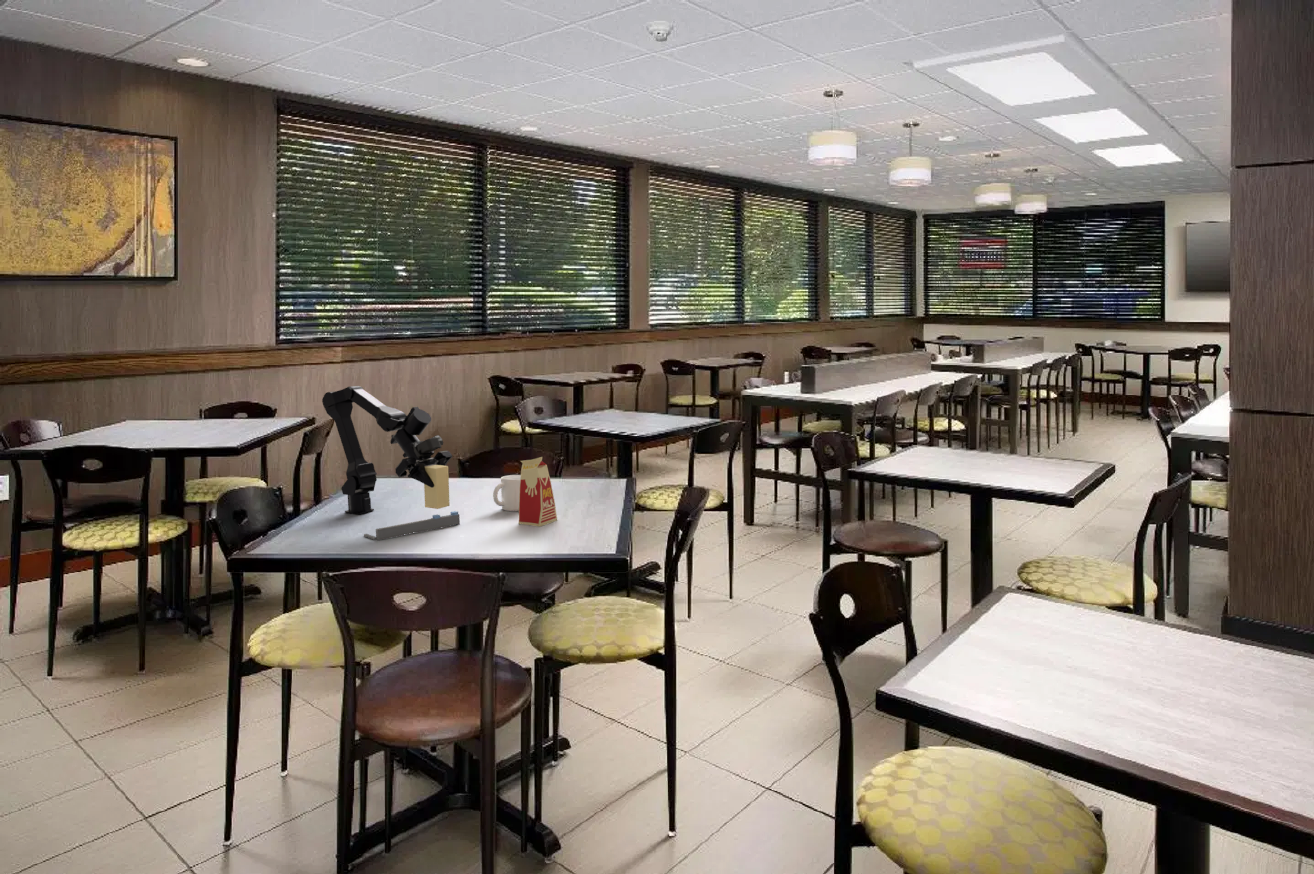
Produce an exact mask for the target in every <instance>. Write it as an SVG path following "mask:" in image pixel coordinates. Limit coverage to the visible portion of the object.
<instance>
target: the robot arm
mask: <svg viewBox="0 0 1314 874" xmlns="http://www.w3.org/2000/svg"><path fill="white" fill-rule="evenodd" d="M321 402H322V405H323V408H324V410H325V412H326V414H327V415H328V416H329V417H331V419H333V421H334V423H335V426H336V430H337V431H338V435H339V438H340V441H341V445H342V448H343V451H344V454H345V457H346V461H347V468H346V472H345V475H346V481H345V482H344V483H343V485H342V486H341V488H340V489H341V493H342V495H345V496H347V508H348V509H347V510H344V513H345V514H353V515H363V514H365V513H369V512H373V511H375V508H372V502H371V500H372V499H371V497H370V494H371V493H370V492H374V491H375V486H376V483H377V475H378V474H377V471H376V470H375V465H374V463H373V462H368V461H367V460H366V459H365V457H364V454H363V451H362V448H361V445H360V441H359V438H358V436H357V431H356V429H355V425H354V423H353V420H352V412H353V408H354V406H353V403H355V405H357V406H358V407H360V408H361V409H362V410H364V411H365V412H367V413H368V414H369V415H371V416H372V417H373V418H374V419H375V421H376V424H377V425H378V426H379V427H380V429H382V430H383V431H384V432H387V433H389V432H395V431H396V432H395V433H394V434H391V437H390V441H389V442H390V444H391V445H395V444H398V446H399V447H400V449H401V450H402V451H403V454H402V457H403V458H402V459H401V460H400V462H399V463H398V465H396V467H395V471H394V472H395V474H396V476H398V478H404V477H407V478H409V479H410V478H411V479H413V480H415V481H418V482H420V483H422V484H423V485H424V484H426V485H427V486H429V487H431V488H433V487H434V483H433V481H432V480H431V478H430V477H429V475H428V474H427V472H426V471H425V467H427V466H432V465H443V466H447V464H448V463H449V462H450V460H451V459H452V458H453V455H452V453H451V452H450V450H443V451H442V450H441V451H438V452H437V453H436V454H435V451H437V450H438V449H441V448H442V446H443V445H444V441H443V438H442V437H441V436H440V435H434V436H433V437H431V438H427V439H425V440H420V439H419V437H418V436H420V435H422V434H423V433H424V431H425V430H426V428H427V427H428V426H429V425H430V423H431V422H432V416H431V415H430V414H429V412H427V411H425V410H424V409H420V408H419V406H412V407H411V408H410V411H409V413H408V414H406V413H405V412H403V410H400V409H398V408H395V407H391V406H388V405H385V403H382V402H381V401H380V400H379V399H377V398H376V397H374V396H373V395H372V394H370V392H367V391H366V390H365V389H364V388H363V387H362V386H360V385H353V386H347V387H345V388H343V389H342V388H341V389H339V390H336V391H328V392H325V393H324V395H323V397H322V400H321ZM434 454H435V455H434ZM433 455H434V456H433ZM432 456H433V457H432ZM407 471H408V472H407Z"/></svg>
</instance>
